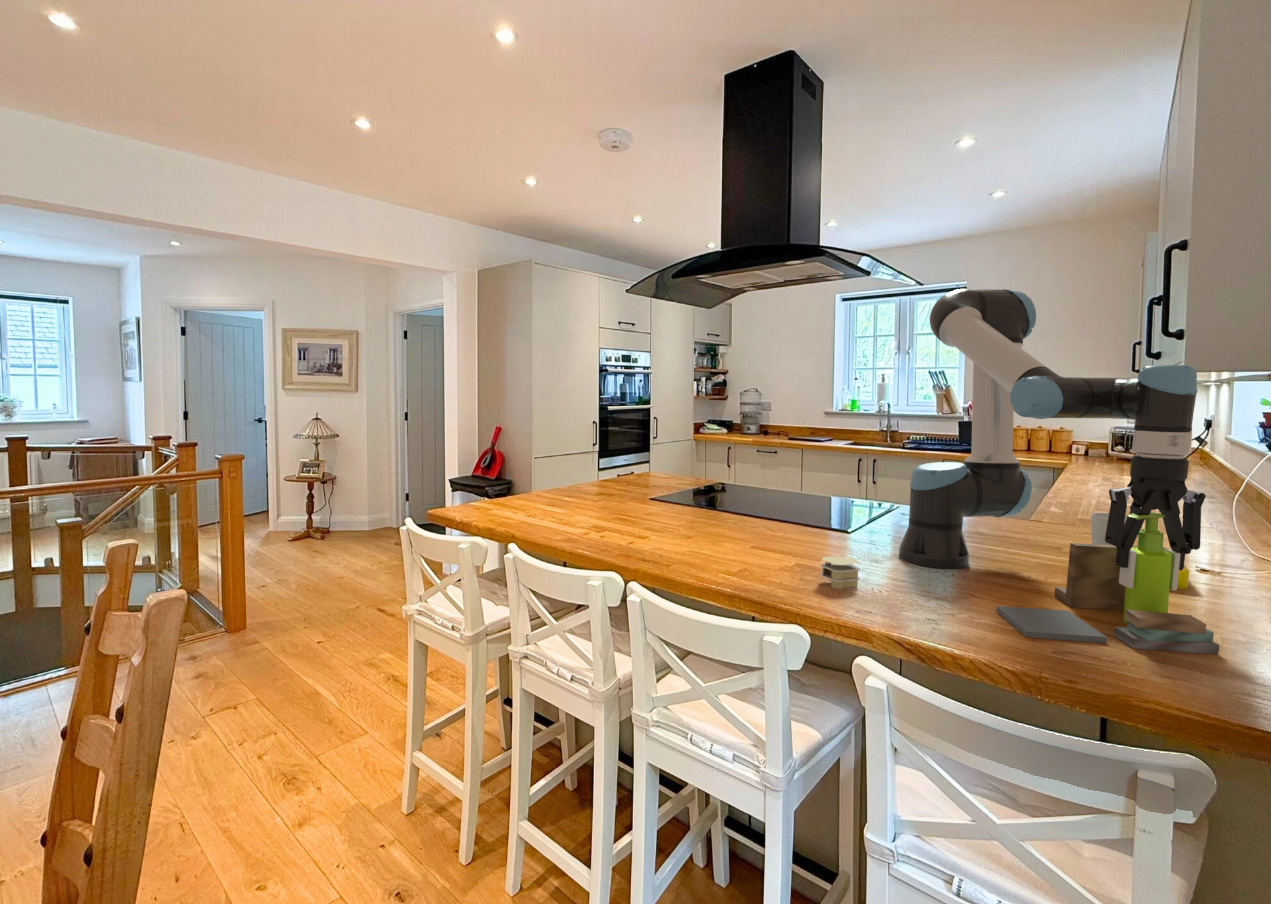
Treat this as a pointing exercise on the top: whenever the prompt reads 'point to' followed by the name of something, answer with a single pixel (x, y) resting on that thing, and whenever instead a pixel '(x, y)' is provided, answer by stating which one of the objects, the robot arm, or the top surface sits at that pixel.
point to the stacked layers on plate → (840, 571)
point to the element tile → (1183, 578)
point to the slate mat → (1050, 624)
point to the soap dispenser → (1149, 569)
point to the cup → (1099, 527)
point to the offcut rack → (1100, 589)
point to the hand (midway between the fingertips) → (1147, 586)
